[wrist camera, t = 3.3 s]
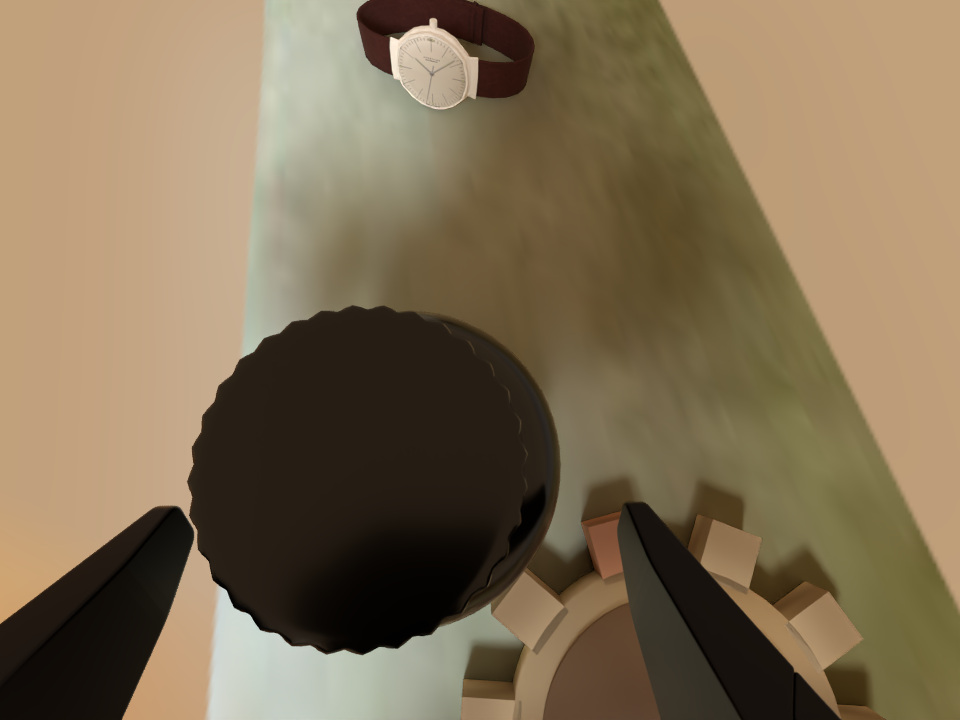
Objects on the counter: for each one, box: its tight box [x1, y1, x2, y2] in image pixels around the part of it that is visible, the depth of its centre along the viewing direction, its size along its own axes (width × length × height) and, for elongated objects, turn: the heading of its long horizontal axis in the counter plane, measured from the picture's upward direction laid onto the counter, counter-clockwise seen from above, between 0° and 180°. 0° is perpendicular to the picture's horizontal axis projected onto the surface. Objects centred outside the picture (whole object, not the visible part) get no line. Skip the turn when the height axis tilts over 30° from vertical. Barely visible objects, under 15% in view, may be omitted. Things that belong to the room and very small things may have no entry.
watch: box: [357, 0, 535, 109], centre depth 20 cm, size 8×5×4 cm, turn 74°
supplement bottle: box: [187, 305, 561, 655], centre depth 12 cm, size 7×7×12 cm
